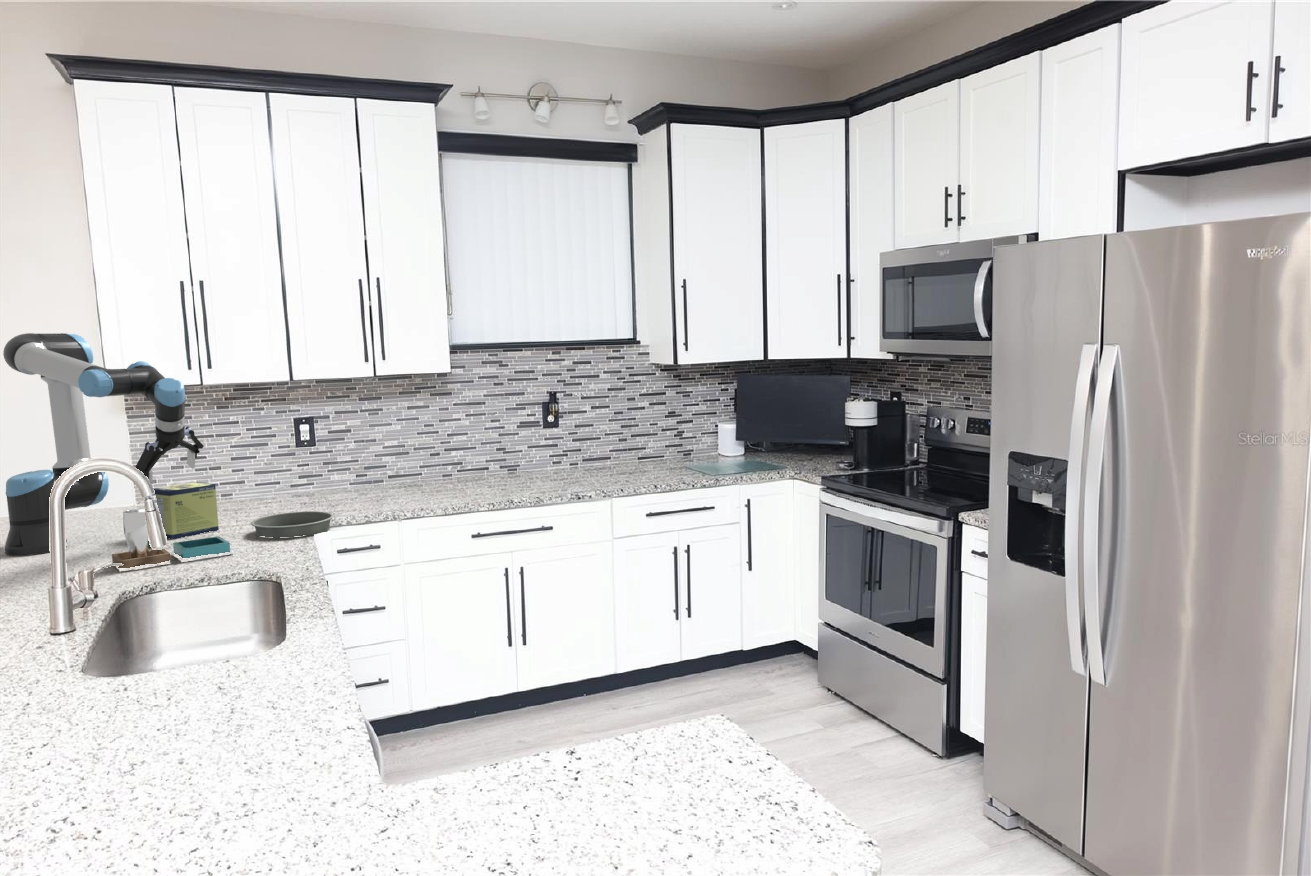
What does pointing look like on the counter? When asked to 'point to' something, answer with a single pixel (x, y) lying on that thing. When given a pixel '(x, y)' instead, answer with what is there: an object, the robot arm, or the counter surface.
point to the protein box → (188, 509)
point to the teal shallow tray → (201, 547)
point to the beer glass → (136, 533)
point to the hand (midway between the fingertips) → (170, 474)
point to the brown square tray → (141, 558)
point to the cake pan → (292, 524)
